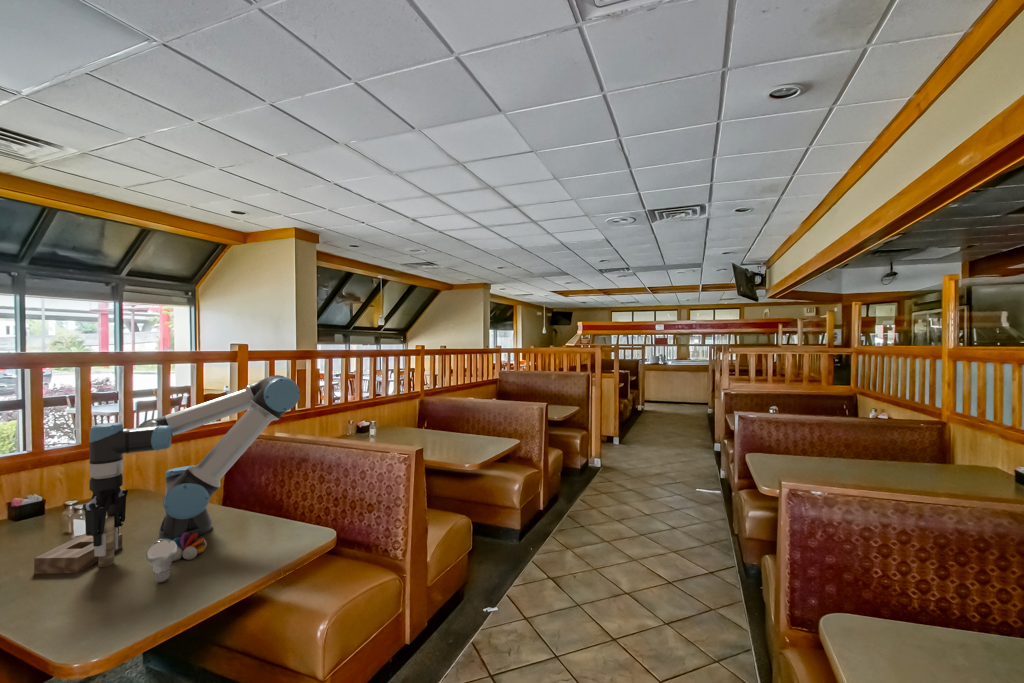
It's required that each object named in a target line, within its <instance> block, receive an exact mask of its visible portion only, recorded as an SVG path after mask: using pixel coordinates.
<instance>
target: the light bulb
mask: <svg viewBox="0 0 1024 683" xmlns="http://www.w3.org/2000/svg"><path fill="white" fill-rule="evenodd" d="M177 549H178V548H177V544H176V543H175V542H174V541H173V540H171V539H167V538H164V539H157V540H156V541H154V542H153V543H152V544H151V545H149V547H148V549H147V550H146V555H145V557H146V561H147V562H148V564H150V566H151V567H152V569H153V570H152V571H153V573H154V581H155V582H157V583H159V584H162V583H165V581H168V580H167V579H168V578H170V569H171V566H172V562H174V561H173V559H174V558H175V556H176V554H177Z"/></svg>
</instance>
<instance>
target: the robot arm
mask: <svg viewBox="0 0 1024 683" xmlns="http://www.w3.org/2000/svg"><path fill="white" fill-rule="evenodd" d="M300 393H301V391H300V388H299V385H298V384H297V383H296V382H295V381H294V380H293V379H291V378H289V377H287V376H284V375H271V376H268V377H265V378H264V379H261V380H259V381H255V382H254V383H251V384H247V385H246V387H245V388H243V389H241V390H238V391H234V392H232V393H228V394H226V395H223V396H220V397H217V398H213V399H212V400H208V401H205V402H202V403H199V404H195V405H193V406H190V407H187V408H183V409H181V410H178V411H174V412H172V413H169V414H166V415H163V416H160V417H158V418H151V419H147V420H145V421H143V422H141V423H140V424H139V425H138V427H135V428H124V425H123V423H121V422H106V423H99V424H98V423H97V424H95V425H93V426H92V427H91V428H90V429H89V441H88V445H89V448H88V450H89V451H88V452H89V476H90V478H89V481H88V482H89V488H88V489H89V491H91V492H92V496H91V500H90V501H89V502H87V503H83V504H82V509H83V510H84V520H85V522H84V523H85V534H86V535H87V536H93V546H94V556H105V555H106V533H103V532H104V526H105V519H106V516H114V546H115V548H114V549H118V535H119V534H120V527H123V525H124V523H125V521H126V513H127V512H126V509H127V508H126V507H127V495H128V493H129V490H128V489H121V487H122V486H123V485H124V482H123V481H124V478H123V477H124V474H123V473H122V472H124V457H123V456H124V454H133V453H140V452H141V453H143V452H153V451H154V452H155V451H160V450H167V449H170V447H171V446H172V437H173V436H175V435H179V434H182V433H185V432H188V431H190V430H194V429H196V428H199V427H201V426H204V425H207V424H210V423H213V422H215V421H218V420H221V419H224V418H227V417H230V416H232V415H233V416H234V415H236V414H239V413H241V412H244V411H246V412H245V413H244V414H243V415H242V416H240V418H239V419H238V420H237V421H236V422H235V423H234V424H233V425H232V427H231V428H230V429H229V430H228V431H227V432H226V433H225V434H224V436H222V437H221V439H219V440H218V441H217V443H216V444H215V445H214V446H213V448H211V449H210V451H208V453H207V454H206V455H205V456H204V457H203V458H202V459H201V461H200V462H199V463H198V464H196V465H187V466H180V467H175V468H171V469H170V468H169V469H168V470H167V471H166V472H165V477H164V481H165V484H164V486H165V490H164V498H163V501H162V502H163V504H162V505H163V508H164V510H165V512H164V513H165V514H164V517H163V520H162V522H161V524H160V528H159V530H158V540H160V539H164V538H167V539H171V540H173V539H175V538H177V537H180V538H181V536H182V534H183V533H186V532H187V533H189V534H190V536H191V535H192V534H193V533H195V532H196V533H197V534H198V535H197V537H200V536H203V535H204V534H207V533H208V532H209V531H211V529H212V528H213V522H212V518H211V516H210V513H209V511H208V508H207V506H208V505H209V502H210V499H211V498H212V496H213V495H214V494H215V493H216V492H217V491H218V489H219V488H220V487H221V479H222V478H223V477H224V475H226V473H228V471H229V470H230V469H231V468H232V467H233V466H234V464H236V462H237V461H238V460H239V459H240V458H241V456H243V455H244V454H245V452H246V451H247V450H248V449H249V447H251V446H252V444H253V443H254V442H255V441H256V439H257V438H259V436H261V434H262V432H264V430H265V429H267V427H268V426H269V425H270V424H271V422H273V421H278V420H280V419H281V418H282V417H283V415H284V414H285V413H286V412H287V411H289V410H291V409H293V408H294V407H295V406H296V405H297V403H298V402H299V400H300V398H301V397H300V396H301V394H300ZM98 530H99V531H98Z"/></svg>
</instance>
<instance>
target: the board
mask: <svg viewBox="0 0 1024 683" xmlns="http://www.w3.org/2000/svg"><path fill="white" fill-rule="evenodd" d="M122 548H123V533H119V535H118V549H114V553H115V552H116V551H117V552H118V551H119V550H120V549H122ZM33 560H34V561H33V565H34V566H33V567H34V568H33V573H34V575H35V574H36V575H37V574H41V575H43V574H44V575H45V574H77V573H79V572H81V571H84V570H85V569H87V568H90V566H92V565H94V564H95V563H97V562H98V556H94V546H93V536H87V535H86V533H85V534H84V533H83V534H82V535H79V536H77V537H75V538H73V539H71V540H69V541H67V542H65V543H63V544H61V545H59V546H57V547H55V548H53V549H50V550H48V551H46V552H45V553H43V554H40V555H37V556H36V557H34V558H33Z"/></svg>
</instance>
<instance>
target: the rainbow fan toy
mask: <svg viewBox="0 0 1024 683" xmlns="http://www.w3.org/2000/svg"><path fill="white" fill-rule="evenodd" d="M197 535H198V534H197V533H196V532H195V533H193V534H192V535H191V536H190V534H189V533H187V532H186V533H183V534H182V536H181V538H180V537H177V538H175V539H173V541H174V542H175V543H176V544H177V548H178V549H177V554H176V556H175V558H174V559H173V561H172V562H175V561H179V560H180V559H181V558H183V559H185V560H187V561H188V560H189V561H190V560H194V559H195V558H196V557H197V555H198V554H201V553H203V552H204V551H205V549H206V548H207V541H206V540H205V537H201V538H198V536H197Z"/></svg>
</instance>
